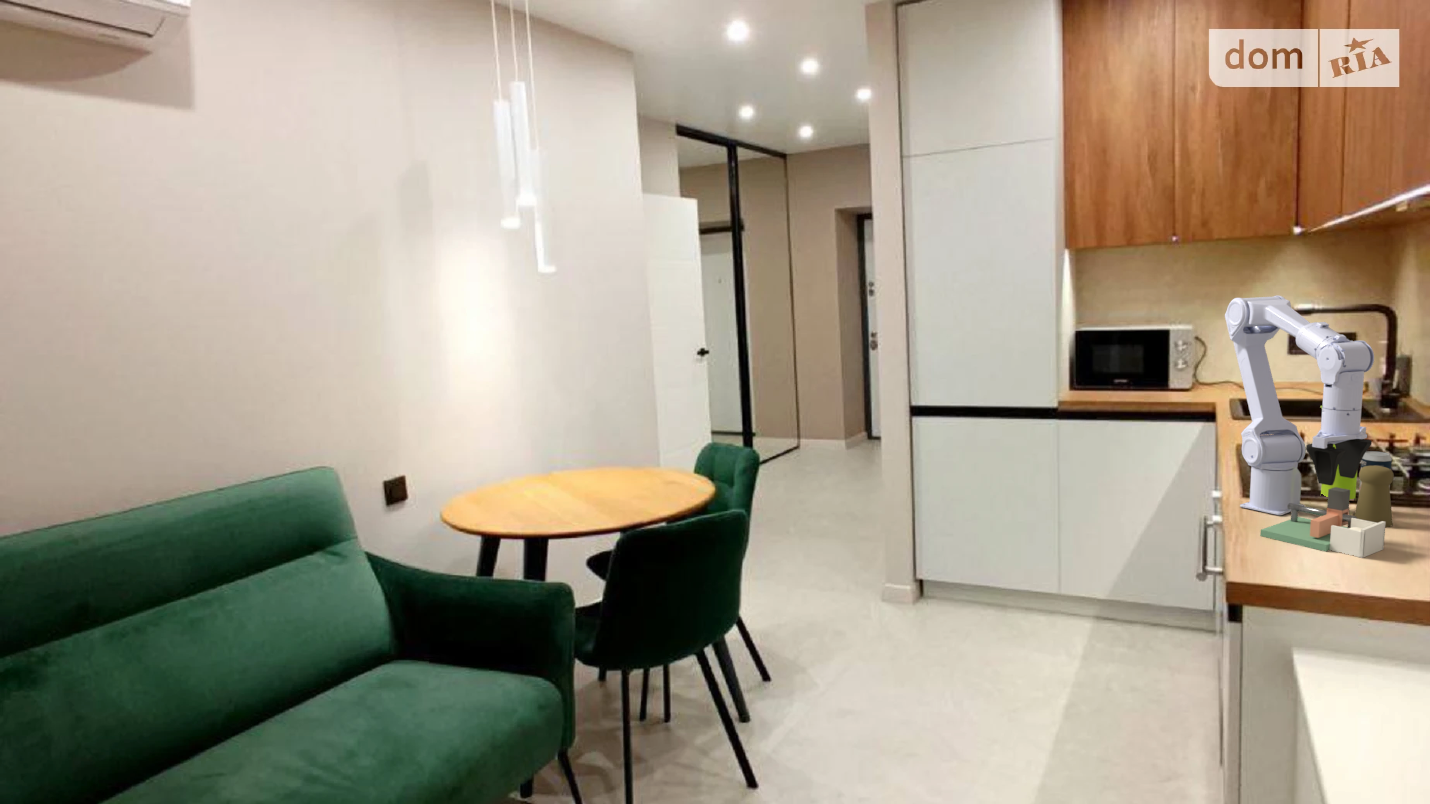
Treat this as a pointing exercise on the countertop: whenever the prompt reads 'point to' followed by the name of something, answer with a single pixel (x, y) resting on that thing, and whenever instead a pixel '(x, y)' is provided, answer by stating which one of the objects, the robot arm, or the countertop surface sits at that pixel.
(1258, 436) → the robot arm
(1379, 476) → the cork
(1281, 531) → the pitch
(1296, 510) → the rod
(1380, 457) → the beer can
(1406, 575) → the countertop surface
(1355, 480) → the soap dispenser
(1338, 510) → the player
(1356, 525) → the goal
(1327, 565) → the countertop surface
